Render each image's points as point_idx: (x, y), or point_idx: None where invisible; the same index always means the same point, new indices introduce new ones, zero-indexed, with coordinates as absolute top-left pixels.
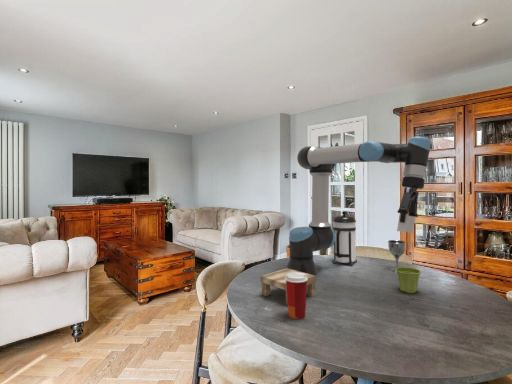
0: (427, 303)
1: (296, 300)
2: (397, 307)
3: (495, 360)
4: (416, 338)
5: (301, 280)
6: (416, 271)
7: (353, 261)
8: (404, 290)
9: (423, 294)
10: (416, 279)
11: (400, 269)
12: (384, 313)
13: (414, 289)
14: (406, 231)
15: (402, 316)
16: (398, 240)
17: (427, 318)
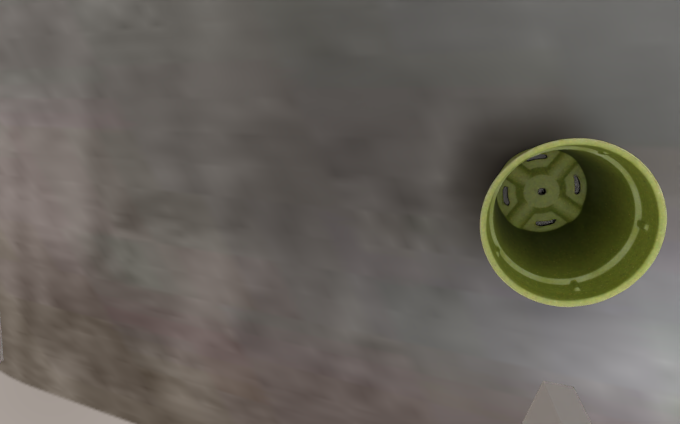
0: (368, 259)
1: None
2: (258, 124)
3: (7, 357)
4: (13, 178)
5: None
6: (610, 279)
7: None
8: (501, 170)
9: None
10: (511, 256)
11: (634, 174)
12: (162, 66)
13: (505, 225)
14: (536, 400)
15: (167, 142)
16: None
17: (195, 235)
